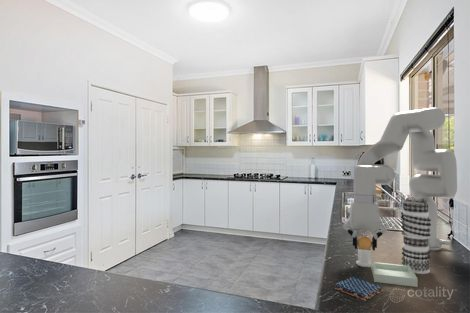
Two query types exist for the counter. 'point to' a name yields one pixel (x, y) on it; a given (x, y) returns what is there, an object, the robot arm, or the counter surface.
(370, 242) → the ball
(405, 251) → the patterned cylinder
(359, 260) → the white octagonal socket
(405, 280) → the tray
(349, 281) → the woven mat
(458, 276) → the counter surface
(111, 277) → the counter surface
